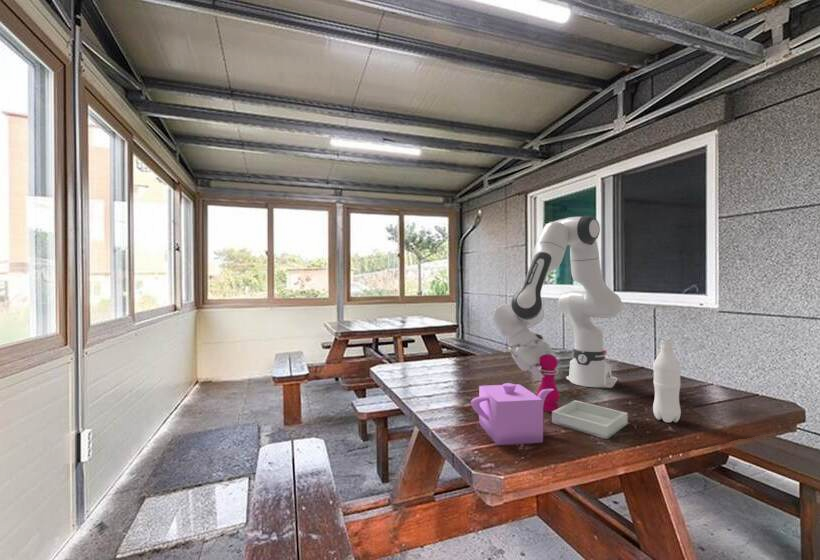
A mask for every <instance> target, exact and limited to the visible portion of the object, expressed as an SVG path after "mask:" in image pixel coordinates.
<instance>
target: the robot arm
mask: <svg viewBox="0 0 820 560" xmlns="http://www.w3.org/2000/svg"><path fill="white" fill-rule="evenodd" d="M600 230H601V229H600V222H599V221H598V220H597V219H596V217H594V216H592V215H590V216H589V215H583V216H569V217H566V218H561V219H558V220H557V219H556V220H551V221H549V222H548V223H546V224H545V225H544V227H543V228H542V230H541V232H540V233H539V236H538V238H537V240H536V243H535V245H534V248H533V252H532V257H531V263H530V266H529V268H528V272H527V273H526V275H525V278H524V282H523V283H522V285H521V287H520V288H519V289H518V291H516V293H515V294H514V295H513V297H511V303H501V304H499V305H497V306H496V308H495V309H494V310H493V312H492V315H491V319H492V322H493V324H494V326H495V327H496V329H497V330H498V331H499V333H500V334H501V335H502V336H504V338H505V339H506V341H507V343H508V345H509V346H510V347H509V352H510V353H511V357H512V359H513V360H514V362H515V364H516V366H517V367H518V368H519V369H520V370H521V371H523V372H525V371H530V373H532V374H534V376H536V377H537V378H538V379H539V380H542V379H543V378H544V377H545V375H544V374H543V372H540V371H541V370H540V369H538V367H541V366H540V365H539V363H540V357H541V356H542V355H546V353H545V352H546V351H547V350H550V351H551V354H550V355H553V356H554V357H555V358H556V359H557V355H556V352H555V351H554V349H552V347H551V346H550V345H549V343H547V342H546V341H545V338H544V336H543V335H542V334H540V333H539V334H537V333H535V332H533V331H531V330H530V329H532V328H533V327H535V326H537V325H538V324H540V323H541V322H542V321H543V319H544V316H545V310H544V306H543V302H542V295H541V292H542V289H543V285H544V283H545V281H546V278H547V275H548V273H549V272H553V271H555V270H557V269H558V268H559V267H560V265H561V263H562V262H563V259H564V256H565V253H566V250H567V246H569V260H570V272H571V277H572V279H573V281H574V282H576V283H578V284H580V285H581V286H582V287H583V288H584V290H571V291H566V292H563V293H561V295H560V296H559V298H558V302H557V305H558V308H559V310H560V312H562V313H563V315H565V316H566V317H567V319H568V320H569V323H570V325H571V327H572V330H573V344H574V345H573V349H572V357H573V358H572V359H571V360H569V371H568V373H569V374H568V375H567V376H566V380H567V381H569V382H571V384H574V385H577V386H582V387H587V388H588V387H589V388H608V389H612V388H613V387H614V386H615V385H616V383H617V381H618V378H617V377H615V376H612V367H611V365H610V364H609V363H608V362H607V361H606V355H607V350H606V349H604V333H603V331H602V330H601V329H600V327H598V326H596V325H594V324H593V321H592V320H591V318H596V319H597V318H598V319H610V318H615V317H617V316H619V315H620V313H621V312H622V309H623V302H622V300H621V297H620V296H619V295H618V294H617V293H615V292H614V291H613V290H611V288H610V287H609V286H608V285H607V283H606V281H605V280H604V279H603V278H604V277H603V275H602V269H601V261H600V252H599V245H598V243H597V239H598V237H599V235H600ZM555 369H556V374H558V373H559V369H558V368H557V367H556V368H555ZM556 374H555V375H556Z"/></svg>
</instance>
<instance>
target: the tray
mask: <svg viewBox="0 0 820 560" xmlns="http://www.w3.org/2000/svg"><path fill="white" fill-rule="evenodd" d="M551 424H555V425H558V426H561V427H564V428H568V429H571V430H575V431H577V432H580V433H584V434H588V435H591V436H593V437H598V438H601V439H604V440H608V439H610V438H611V437H613V436H614V435H615V434H616V433H618V432H619V431H621V430H622V429H623V428H624V427H626V426H628V412H626V411H625V412H624V411H620V410H615V409H613V408H609V407H605V406H600V405H596V404H592V403H589V402H584V401H580V400H576V399H575V400H572V401H570V402H569V403H567V404H565V405H562V406H560V407H558V409H556V410H554V411H552V412H551Z"/></svg>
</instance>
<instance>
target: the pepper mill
mask: <svg viewBox="0 0 820 560" xmlns="http://www.w3.org/2000/svg"><path fill="white" fill-rule="evenodd" d="M545 353H546V355H542V356H541V357H540V363H539V365H540V366H539V367H540V369H539V371H540V372H543V374H544V375H545V377H544V378H543V379H541V383H540V385H539V387H538V389H537V392H536V396H538V394H539V393H540V391H542V390H543V389H554V390H553V391H551V392H550V393H548V394H547V396H546V398H545V400H544V404H543V412H548V413H549V412H550V413H552V411H554V410H556V409H558V408H559V405H558V402H559V400H560V393H559V390H558V387H557V386H556V385H557V384H556V381H555V375H556V369H555V368H557V367H558V365H559V363H558V359H557V357H556V358H555V357H554V356H553V355H550V354H551V351H550V350H547V351H546V352H545Z"/></svg>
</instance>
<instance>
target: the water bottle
mask: <svg viewBox="0 0 820 560" xmlns="http://www.w3.org/2000/svg"><path fill="white" fill-rule="evenodd" d="M660 341H661V344H660V346H659V347H660V351H659V353H658V355H657V356H656V358H655V360H654V361H653V365H652V366H653V381H652V383H653V387H654V400H653V404H652V412H653V415H654V418H655V419H657V420H659V421H660V420H662V421H663V422H665V423H667V424H668V423H672V422H673V423H678V422H679V420H680V418H681V415H682V414H681V413H682V411H681V410H682V409H681V405H680V389H681V386H682V385H681V370H682V366H681V364H680V361H679V360H678V358H677V357H676V355H675V353H674V349H675V348H674V344H673V340H671V339H661V340H660Z"/></svg>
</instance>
